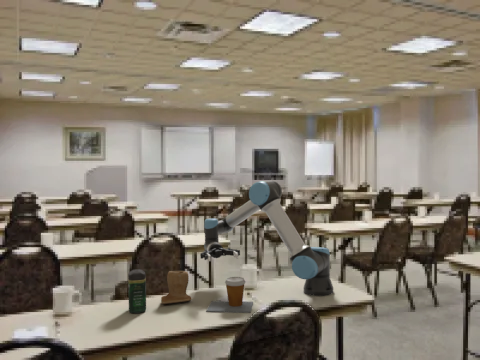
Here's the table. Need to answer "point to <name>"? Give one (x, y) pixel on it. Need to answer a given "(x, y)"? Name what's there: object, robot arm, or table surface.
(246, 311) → the rubber mat
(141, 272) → the coffee jar
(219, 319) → the table surface
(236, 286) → the disposable coffee cup
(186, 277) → the tan ankle boots
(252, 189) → the robot arm
